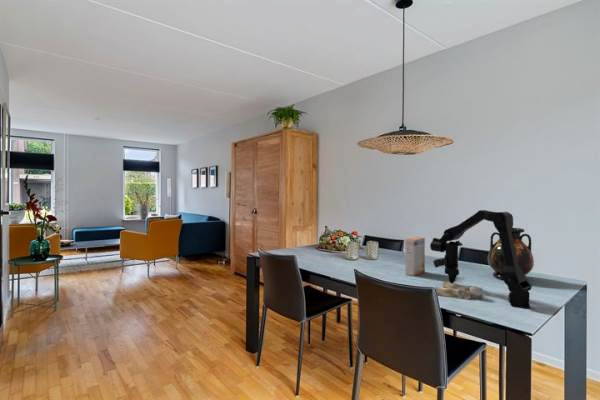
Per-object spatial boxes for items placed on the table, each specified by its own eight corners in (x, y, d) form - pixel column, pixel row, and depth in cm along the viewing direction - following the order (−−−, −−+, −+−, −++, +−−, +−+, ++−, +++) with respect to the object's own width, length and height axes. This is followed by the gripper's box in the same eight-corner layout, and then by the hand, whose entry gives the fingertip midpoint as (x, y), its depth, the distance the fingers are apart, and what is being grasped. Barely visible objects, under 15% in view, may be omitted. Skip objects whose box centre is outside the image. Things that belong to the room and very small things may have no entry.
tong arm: (484, 297, 144) (484, 288, 144) (478, 299, 141) (479, 290, 141) (445, 287, 159) (445, 279, 159) (439, 289, 156) (439, 281, 156)
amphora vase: (488, 280, 174) (489, 229, 173) (486, 271, 193) (487, 225, 192) (537, 286, 164) (538, 231, 163) (529, 276, 183) (530, 227, 182)
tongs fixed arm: (468, 297, 146) (468, 289, 146) (468, 299, 143) (469, 291, 143) (435, 293, 152) (435, 285, 152) (435, 294, 149) (435, 287, 149)
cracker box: (415, 270, 196) (415, 236, 195) (425, 272, 191) (425, 237, 191) (404, 274, 186) (404, 238, 185) (414, 276, 182) (414, 239, 181)
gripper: (434, 249, 172) (434, 278, 173) (433, 255, 155) (433, 287, 156) (457, 251, 168) (457, 280, 168) (459, 257, 151) (458, 290, 151)
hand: (451, 284), depth 161 cm, fingers closed
